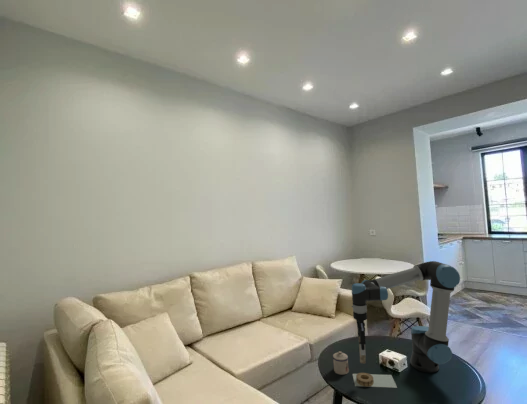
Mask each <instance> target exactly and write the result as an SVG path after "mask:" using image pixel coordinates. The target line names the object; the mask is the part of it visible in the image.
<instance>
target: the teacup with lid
mask: <svg viewBox="0 0 527 404" xmlns="http://www.w3.org/2000/svg"><path fill="white" fill-rule="evenodd" d="M332 358H333V359H332V361H333V372H334V373H335V374H337V375H342V376H344V375H347V374H349V372H350V369H349V356H348V354H346V353H344V352H342V350H341V351H338V352H335V353H333V354H332Z"/></svg>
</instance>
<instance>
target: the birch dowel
mask: <svg viewBox="0 0 527 404" xmlns="http://www.w3.org/2000/svg"><path fill="white" fill-rule="evenodd" d="M358 338H359V339H358V348H359V349H358V350H359V352H360V344H359V342H360V336H359V337H358ZM366 359H367V358H366V355H360V354H359V363H360V364H363V365H364V364H366V362H367V361H366Z"/></svg>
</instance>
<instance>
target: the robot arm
mask: <svg viewBox="0 0 527 404" xmlns="http://www.w3.org/2000/svg"><path fill="white" fill-rule="evenodd" d="M416 281H420V282H422V281H430V282H429V283H430V284H429V286H430V287H431V288H432V294H431V301H430V310H429V311H430V313H429V320H428V326H423V325H416V326H412V327H411V329H410V331H411V332H410V335H411V336H410V337H411V346H412V352H411V356H410V359H409V360H410V365H411V366H412V368H413V369H416V370H417V371H420V372H422V373H431V374H432V373H436V372H438V371H439V370H440V367H439V365H444V364H446V363H447V362H449V361H451V359H452V357H453V354H452V353H453V352H452V349H451V348H450V346H449V340H450V339H449V337H448V336H447V331H448V330H447V328H448V320H449V308H450V301H451V293H452V292H454V291H455V288H456V287H457V286H458V285H459V284H460V282H461V276H460V273H459V271H458V270H457V269H456V268H455V267H454V266H451V265H450V264H447V263H442V262H439V261H435V260H433V261H431V260H430V261H426V262H422V263H419V264H415V265H413V267H412V268H408V269H404V270H401V271H399V272H398V271H397V272H394V273H391V274H389V275H384V276H382V277H378V278H375V279H374V278H373V279H371V280H370V279H364V280H363V281H361V283H359V282H358V283H357V282H356V283H352V285H351V300H352V305H351V308H352V311H353V312H352V318H353V319H354V320H355V321H356V326H357V337H358V340H359V336H360V342H359V341H358V345H359V344H360V351H359V356H360V355H365V356H366V355H367V354H366V353H367V352H366V344H367V343H366V323H365V321H366V320H367V319H368V307H367V302H371V301H373V302H375V301H376V302H380V301H382V302H383V301H387V300H388V298H389V293H388V290H389V289H393V288H395V287H399V286H402V285H405V284H409V283H414V282H416Z"/></svg>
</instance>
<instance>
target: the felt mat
mask: <svg viewBox="0 0 527 404" xmlns="http://www.w3.org/2000/svg"><path fill="white" fill-rule="evenodd" d="M357 374H358V373H352V378H353V383H354V387H363V386H362V385H359V384H358V383H357V380H356V375H357ZM369 374H370V375H372V376H373V380H374V384H373V385H372V386H368V388H369V387H372V388H393V389H394V388H395V389H396V388H398V387H397V384H396V381H395V379H394V378H393V376H392V374H371V373H369ZM365 380H366V379H365ZM364 387H365V388H366V387H367V386H364Z"/></svg>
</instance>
